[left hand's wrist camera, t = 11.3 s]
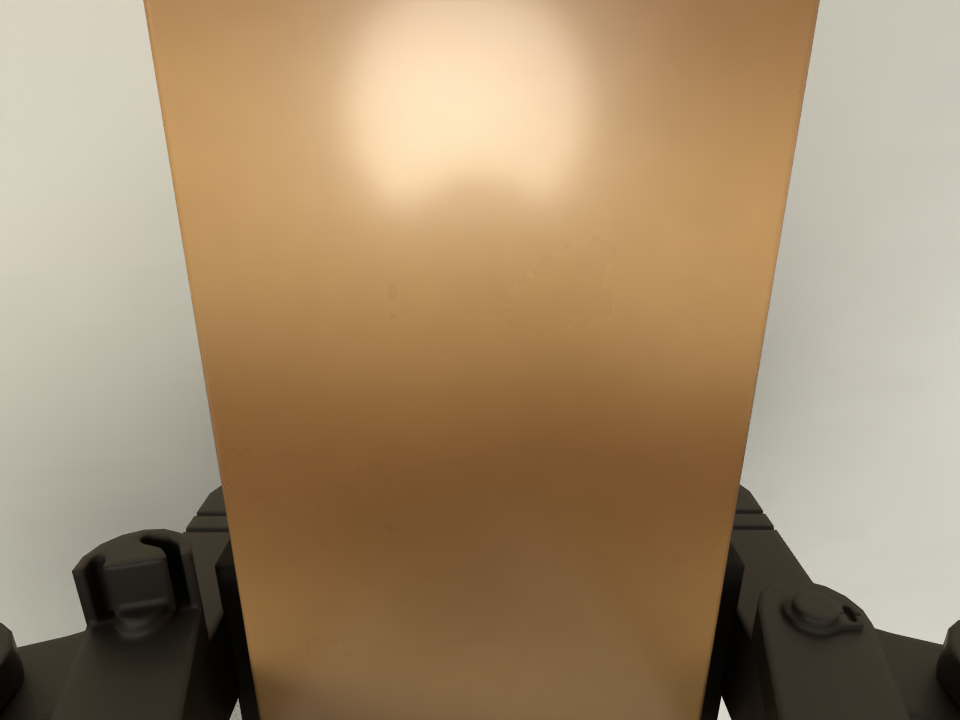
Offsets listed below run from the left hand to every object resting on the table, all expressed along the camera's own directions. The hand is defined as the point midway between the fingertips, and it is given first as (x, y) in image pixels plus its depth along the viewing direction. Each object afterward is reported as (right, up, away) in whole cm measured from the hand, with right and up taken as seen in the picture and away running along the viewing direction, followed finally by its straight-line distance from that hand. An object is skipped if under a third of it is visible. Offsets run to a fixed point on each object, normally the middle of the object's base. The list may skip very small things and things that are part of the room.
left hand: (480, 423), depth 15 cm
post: (0, +24, -9) cm, 26 cm away
